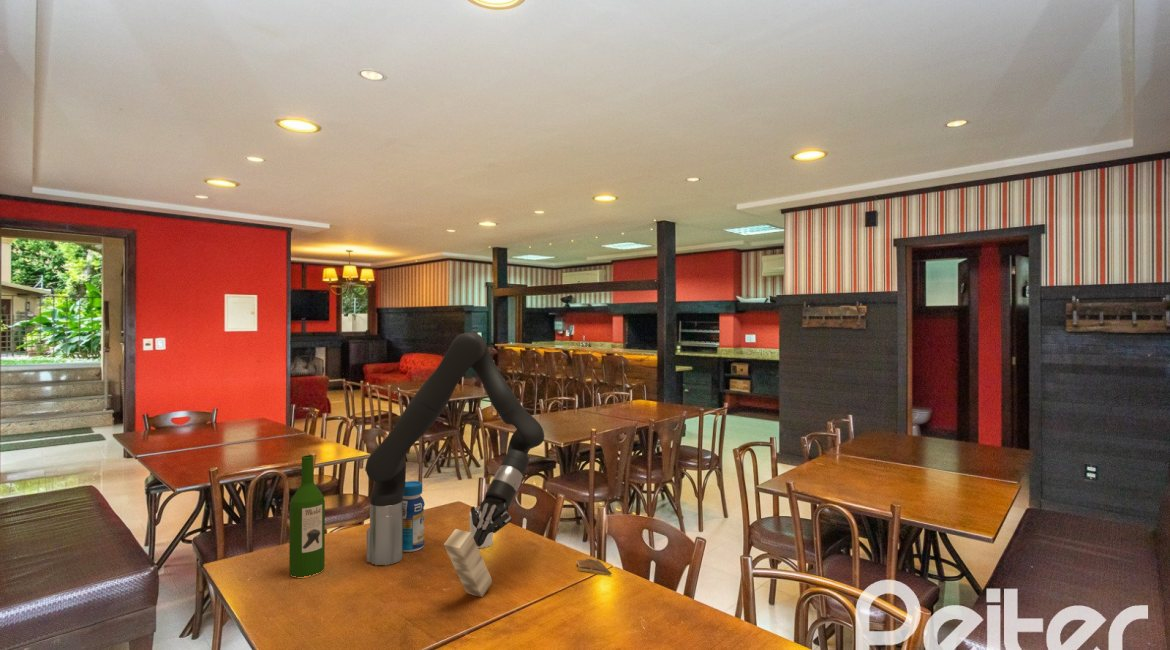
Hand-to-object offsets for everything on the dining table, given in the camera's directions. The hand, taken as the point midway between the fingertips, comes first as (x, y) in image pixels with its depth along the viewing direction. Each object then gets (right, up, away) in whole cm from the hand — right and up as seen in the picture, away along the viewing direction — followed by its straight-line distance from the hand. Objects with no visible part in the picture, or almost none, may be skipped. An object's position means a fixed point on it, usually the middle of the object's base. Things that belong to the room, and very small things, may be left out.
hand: (476, 544), depth 148 cm
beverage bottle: (-26, -13, +31) cm, 43 cm away
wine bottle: (-50, -13, +13) cm, 53 cm away
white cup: (-5, -13, +34) cm, 37 cm away
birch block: (+1, -12, +1) cm, 12 cm away
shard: (+31, -14, +17) cm, 38 cm away
